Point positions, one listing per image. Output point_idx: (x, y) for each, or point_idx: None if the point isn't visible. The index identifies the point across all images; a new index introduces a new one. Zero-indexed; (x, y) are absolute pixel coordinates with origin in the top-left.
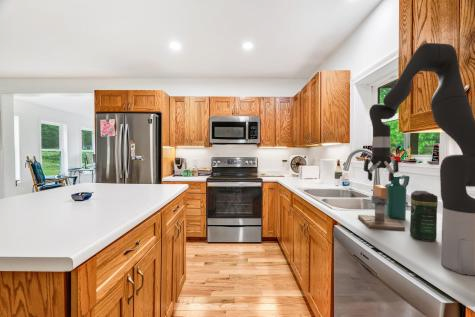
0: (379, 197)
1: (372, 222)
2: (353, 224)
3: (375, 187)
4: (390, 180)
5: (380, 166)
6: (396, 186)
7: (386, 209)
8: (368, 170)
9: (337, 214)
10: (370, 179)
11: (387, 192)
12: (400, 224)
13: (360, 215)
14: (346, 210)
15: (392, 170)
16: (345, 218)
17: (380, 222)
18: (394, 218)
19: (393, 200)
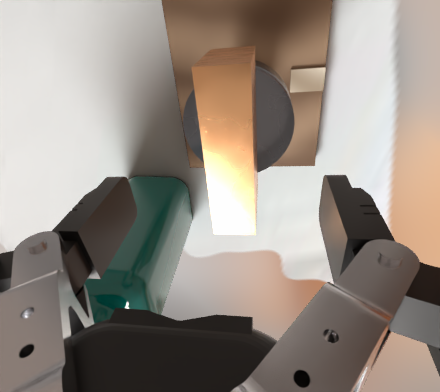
0: (255, 79)
1: (297, 26)
2: (393, 20)
3: (255, 197)
4: (121, 179)
5: (196, 348)
6: (99, 284)
7: (182, 214)
8: (429, 289)
9: (388, 195)
10: (346, 185)
11: (158, 267)
12: (167, 31)
13: (307, 158)
14: (317, 258)
15: (23, 265)
16: (381, 135)
17: (254, 41)
18: (165, 177)
19: (145, 223)
